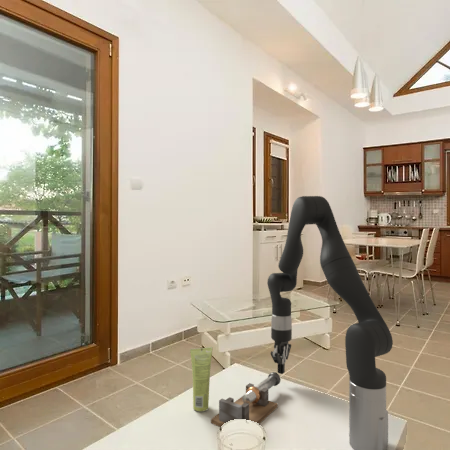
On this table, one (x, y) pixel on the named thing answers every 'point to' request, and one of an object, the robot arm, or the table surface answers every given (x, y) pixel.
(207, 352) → the tube
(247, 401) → the shaft
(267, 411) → the bearing board
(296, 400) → the table surface
